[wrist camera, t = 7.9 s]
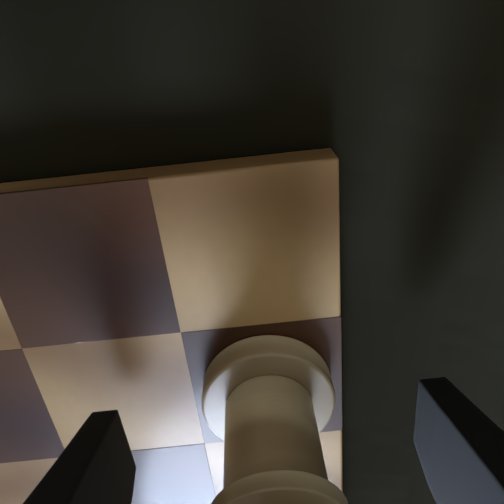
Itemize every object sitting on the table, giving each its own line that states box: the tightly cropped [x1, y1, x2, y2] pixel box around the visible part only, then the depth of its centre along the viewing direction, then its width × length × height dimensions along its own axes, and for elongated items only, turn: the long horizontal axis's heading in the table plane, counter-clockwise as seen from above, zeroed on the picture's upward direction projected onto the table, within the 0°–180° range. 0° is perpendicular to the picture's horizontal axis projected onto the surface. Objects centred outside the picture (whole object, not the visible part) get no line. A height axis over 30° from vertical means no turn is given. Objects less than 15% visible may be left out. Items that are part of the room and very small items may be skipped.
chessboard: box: [0, 148, 343, 504], centre depth 14 cm, size 20×16×1 cm
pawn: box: [201, 335, 349, 504], centre depth 9 cm, size 3×3×6 cm
